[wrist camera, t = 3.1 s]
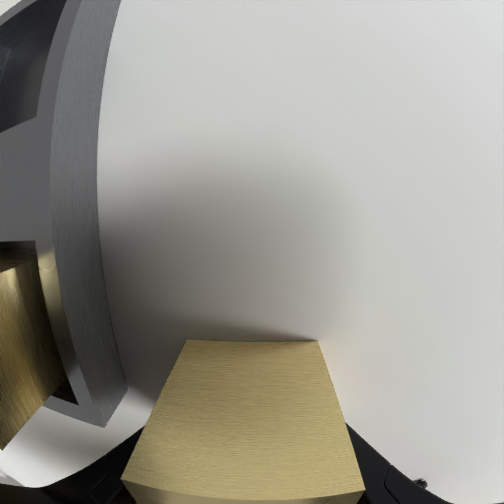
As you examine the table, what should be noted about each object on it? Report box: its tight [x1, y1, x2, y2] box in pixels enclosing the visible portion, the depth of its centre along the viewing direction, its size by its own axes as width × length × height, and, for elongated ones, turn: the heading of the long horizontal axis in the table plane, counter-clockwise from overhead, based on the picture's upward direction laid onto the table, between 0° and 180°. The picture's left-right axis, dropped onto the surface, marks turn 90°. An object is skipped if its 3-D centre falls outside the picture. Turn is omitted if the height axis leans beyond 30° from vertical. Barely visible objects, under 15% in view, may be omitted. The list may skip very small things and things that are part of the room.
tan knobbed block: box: [121, 339, 365, 504], centre depth 7 cm, size 4×4×6 cm
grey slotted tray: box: [0, 0, 128, 428], centre depth 7 cm, size 8×17×2 cm, turn 0°
